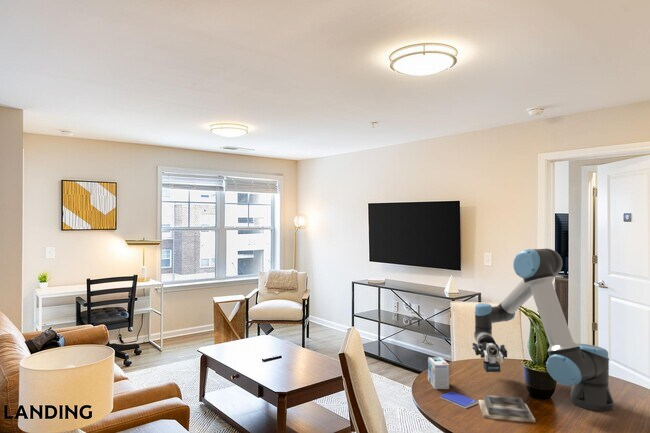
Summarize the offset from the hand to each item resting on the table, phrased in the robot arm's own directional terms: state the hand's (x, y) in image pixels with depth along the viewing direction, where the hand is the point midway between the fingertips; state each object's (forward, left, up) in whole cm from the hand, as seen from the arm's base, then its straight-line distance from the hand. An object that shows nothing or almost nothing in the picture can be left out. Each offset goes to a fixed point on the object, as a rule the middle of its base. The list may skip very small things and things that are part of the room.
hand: (494, 358), depth 174 cm
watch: (0, -5, -7) cm, 8 cm away
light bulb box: (+23, -13, -18) cm, 32 cm away
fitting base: (-3, +7, -18) cm, 20 cm away
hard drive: (+14, +2, -19) cm, 23 cm away
